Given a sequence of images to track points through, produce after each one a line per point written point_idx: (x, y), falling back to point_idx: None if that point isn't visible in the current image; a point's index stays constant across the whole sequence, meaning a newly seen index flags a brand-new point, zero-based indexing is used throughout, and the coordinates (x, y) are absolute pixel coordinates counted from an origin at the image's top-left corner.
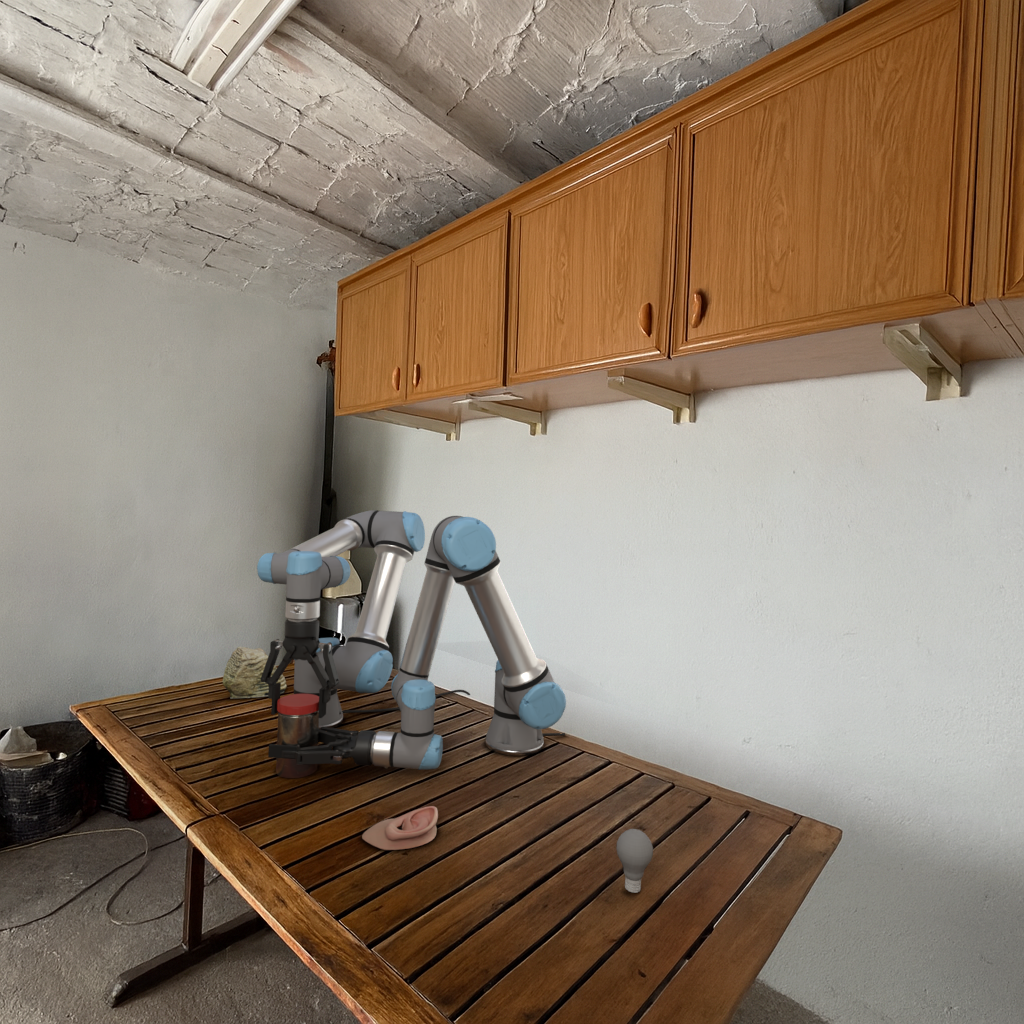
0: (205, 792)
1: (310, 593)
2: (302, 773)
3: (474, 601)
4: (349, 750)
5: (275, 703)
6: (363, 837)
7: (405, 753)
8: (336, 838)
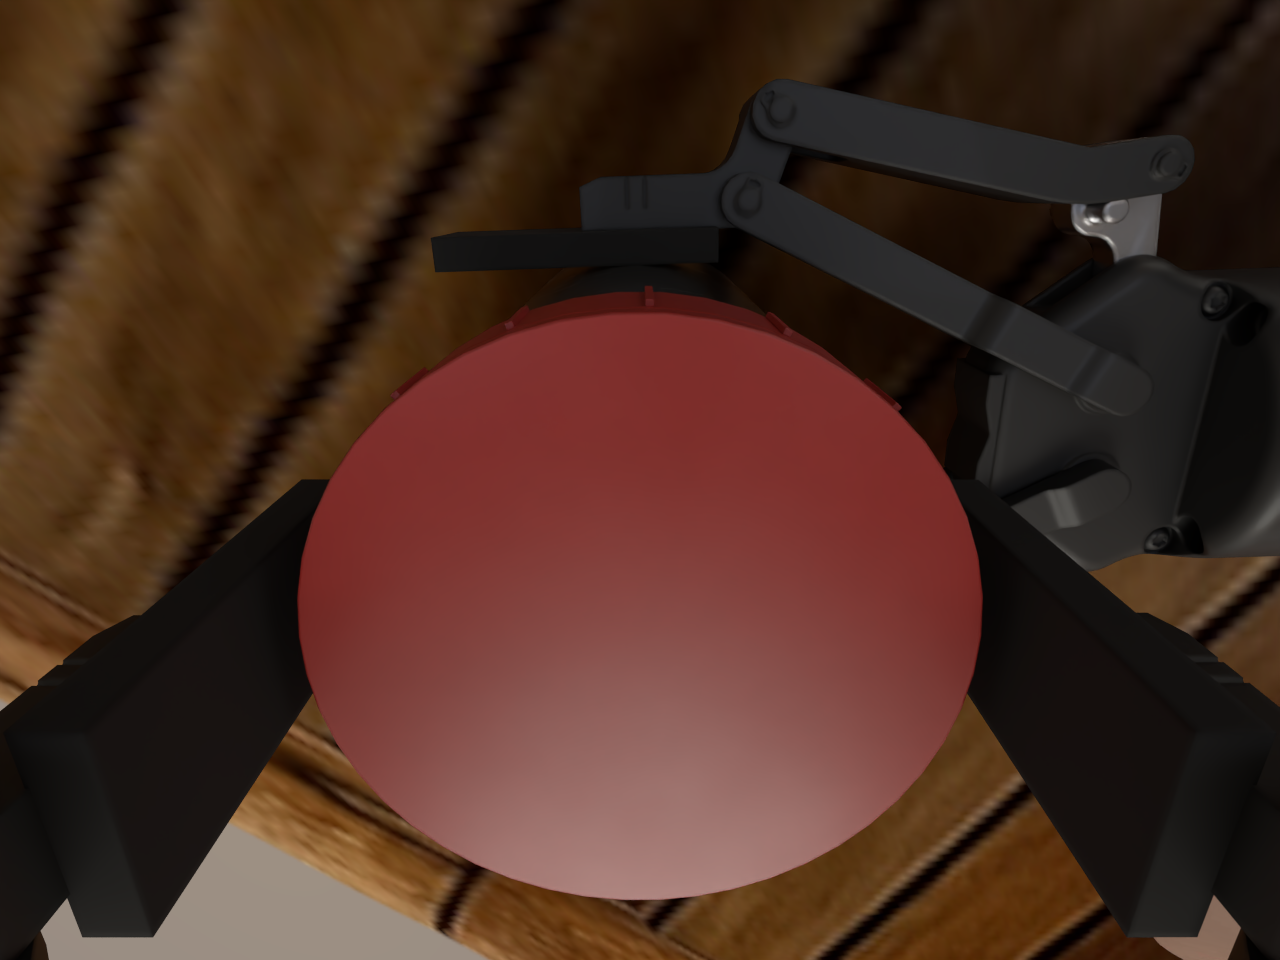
0: (305, 707)
1: None
2: None
3: None
4: (1126, 557)
5: (305, 675)
6: (1159, 941)
7: None
8: (1043, 929)
